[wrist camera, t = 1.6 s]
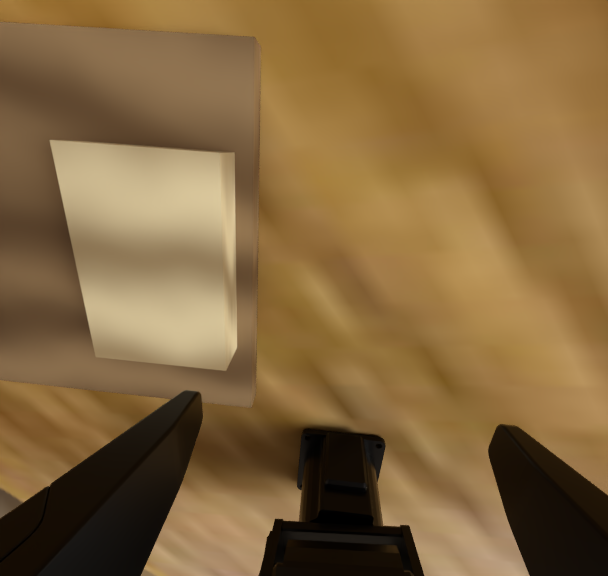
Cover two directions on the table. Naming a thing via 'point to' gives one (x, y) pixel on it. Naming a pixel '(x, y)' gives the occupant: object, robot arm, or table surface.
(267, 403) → the table surface
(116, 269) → the maple plate
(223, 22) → the table surface
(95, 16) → the table surface
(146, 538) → the robot arm
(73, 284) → the bench board
